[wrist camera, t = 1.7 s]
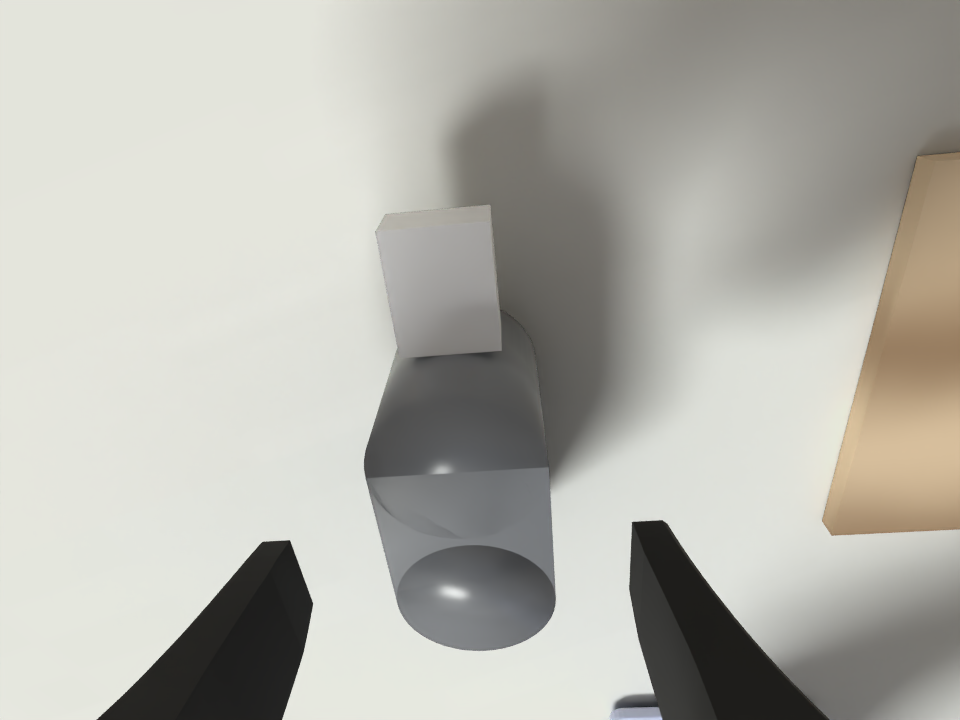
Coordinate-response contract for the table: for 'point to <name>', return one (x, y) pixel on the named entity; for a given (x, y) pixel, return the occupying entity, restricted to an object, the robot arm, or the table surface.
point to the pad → (909, 377)
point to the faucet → (460, 441)
